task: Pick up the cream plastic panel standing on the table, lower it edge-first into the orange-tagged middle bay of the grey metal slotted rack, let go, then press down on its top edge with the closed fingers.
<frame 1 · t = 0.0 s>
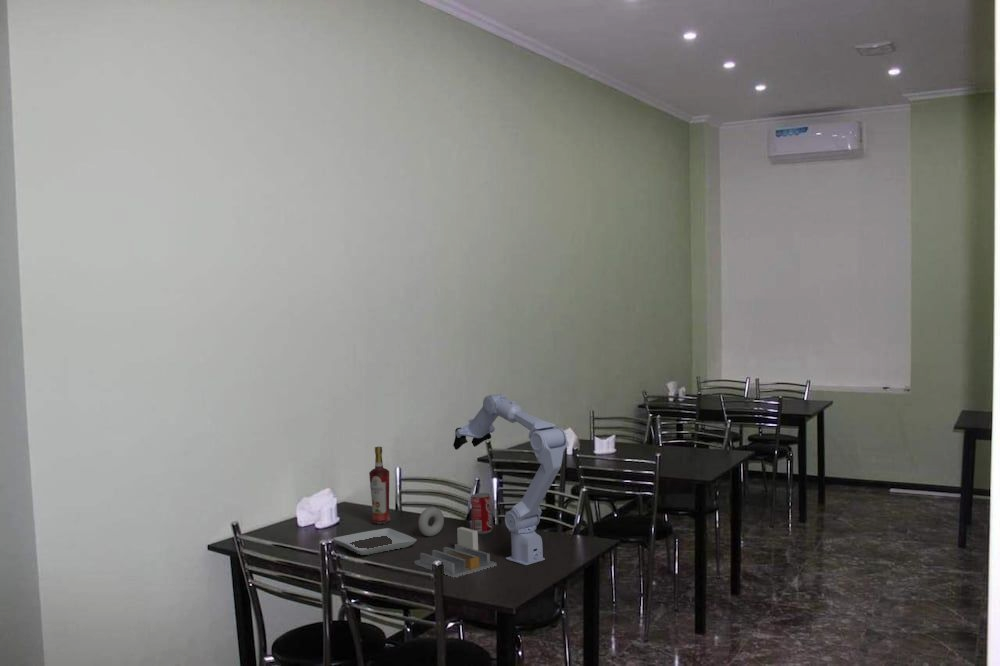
hand: (464, 445, 281), 32 cm above the table, tool tilted 50°, fingers open, 7 cm apart
salad plate: (374, 548, 281), on the table
donut: (431, 536, 292), on the table
soda can: (482, 532, 295), on the table
panel: (468, 551, 272), on the table
liquor: (381, 523, 313), on the table
rack: (455, 565, 257), on the table
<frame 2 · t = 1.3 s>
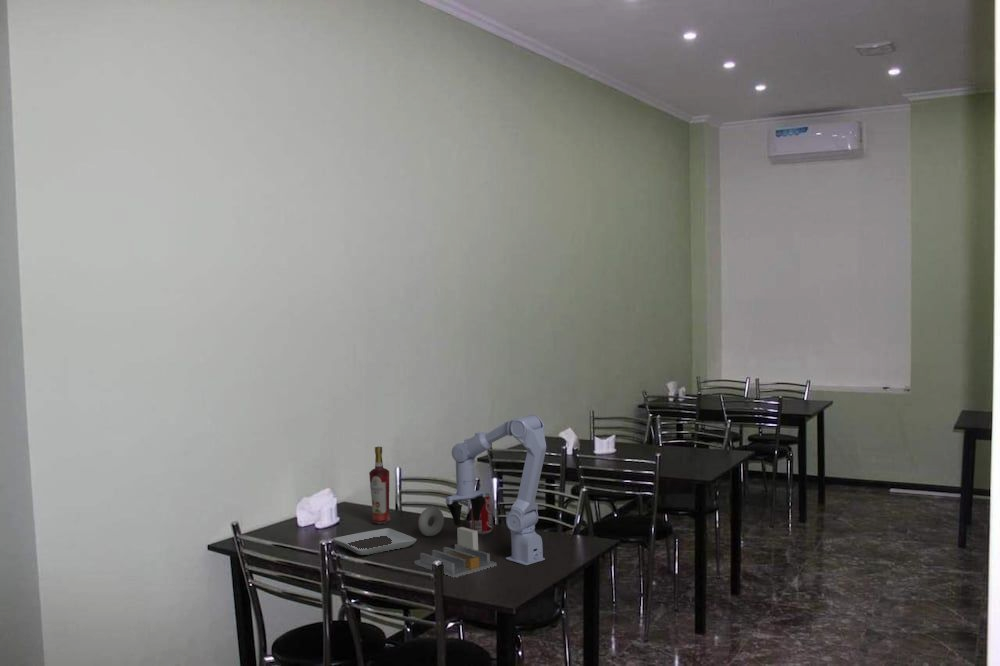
hand: (466, 522, 272), 9 cm above the table, tool pointing down, fingers open, 7 cm apart
nothing on the table moved.
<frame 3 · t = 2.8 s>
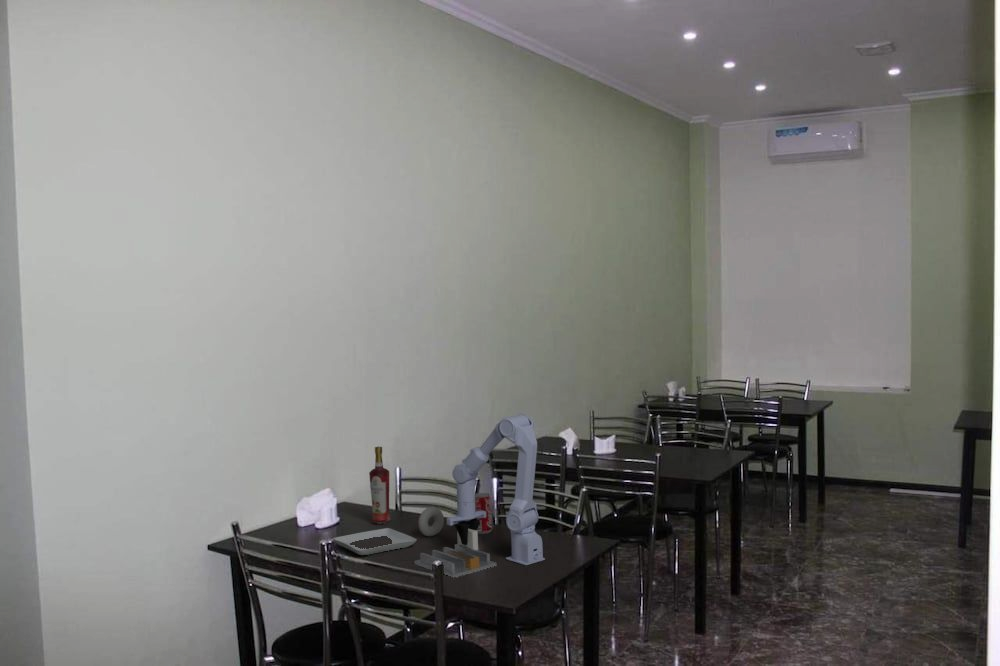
hand: (467, 543, 272), 2 cm above the table, tool pointing down, fingers closed on panel, 2 cm apart
panel: (467, 551, 272), on the table, touching gripper
everything else where it was.
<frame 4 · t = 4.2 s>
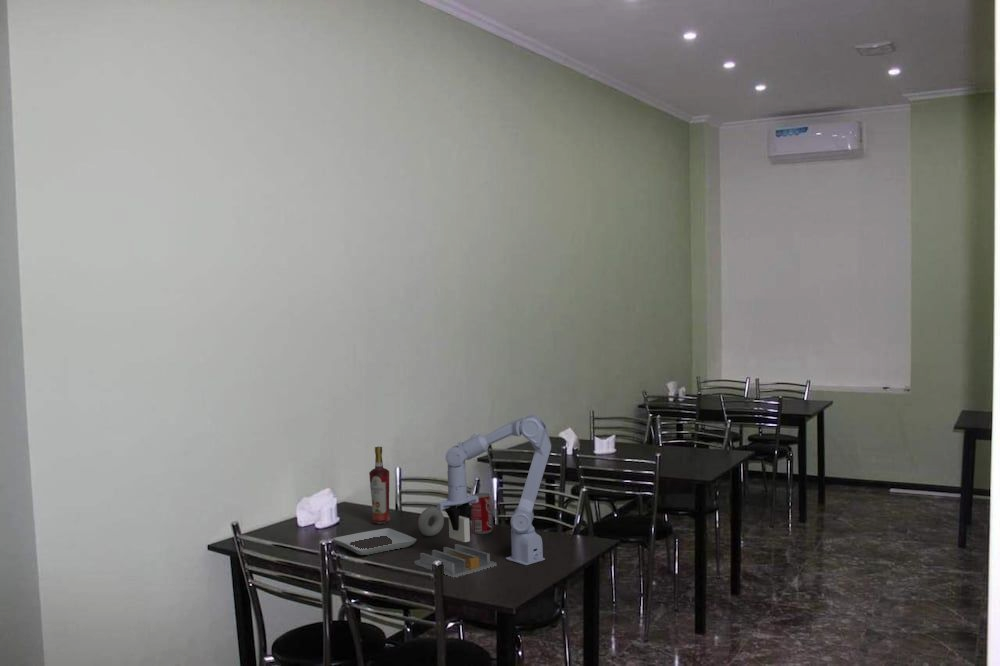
hand: (458, 529, 263), 9 cm above the table, tool pointing down, fingers closed on panel
panel: (459, 539, 263), point 6 cm above the table, touching gripper
everything else where it was.
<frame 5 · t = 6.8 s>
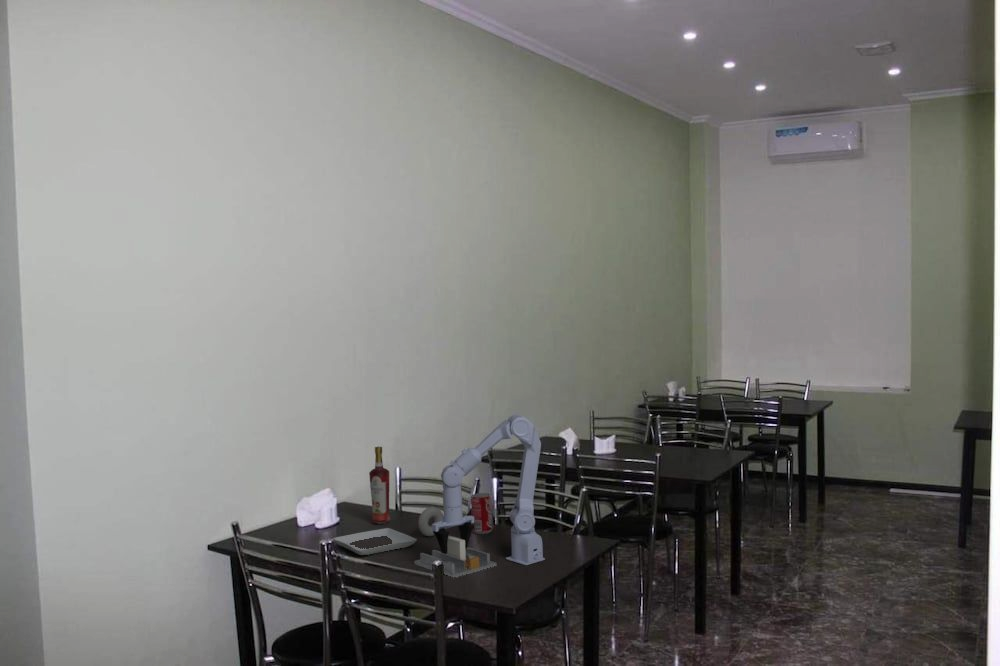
hand: (454, 550, 257), 4 cm above the table, tool pointing down, fingers open, 7 cm apart
panel: (455, 561, 257), point 1 cm above the table, touching rack
everything else where it was.
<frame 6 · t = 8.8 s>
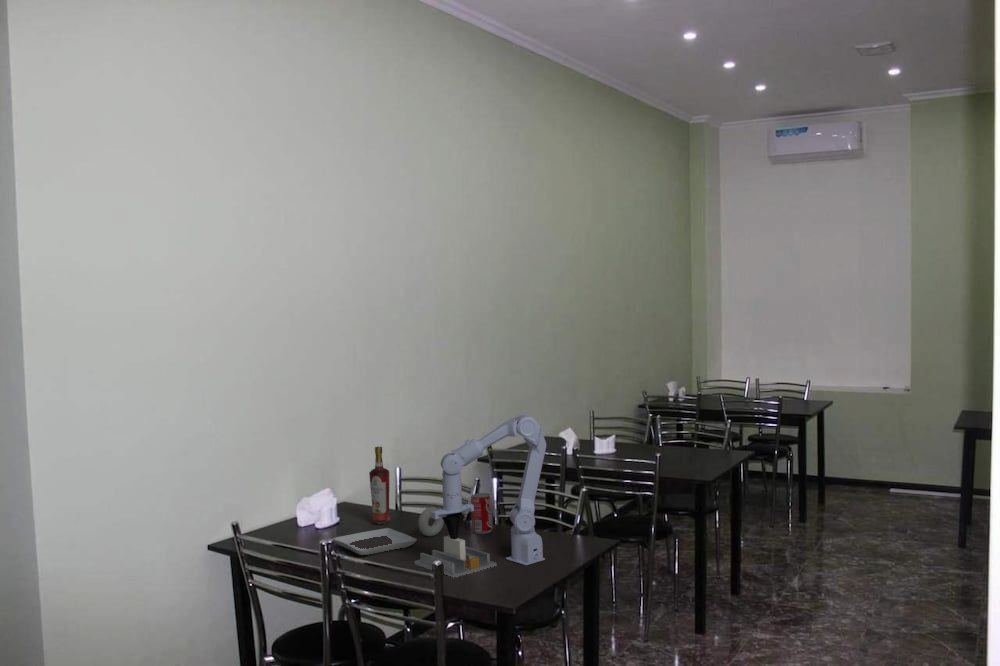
hand: (453, 538, 257), 8 cm above the table, tool pointing down, fingers closed, pressing on panel
panel: (455, 561, 257), point 1 cm above the table, touching gripper, rack
everything else where it was.
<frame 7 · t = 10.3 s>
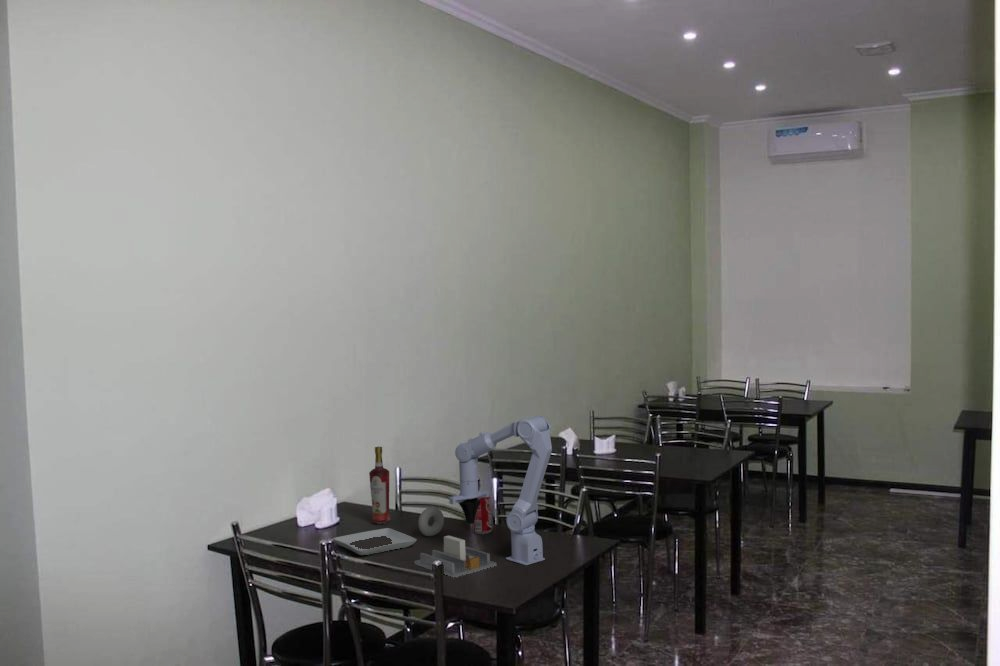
hand: (470, 523, 270), 9 cm above the table, tool pointing down, fingers closed
panel: (455, 561, 257), point 1 cm above the table, touching rack
everything else where it was.
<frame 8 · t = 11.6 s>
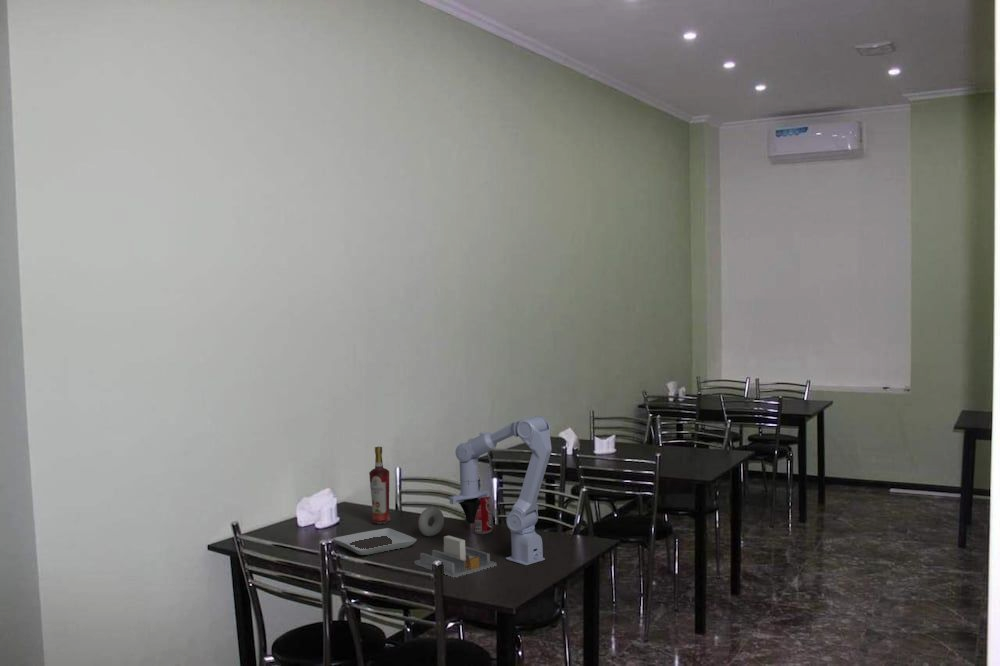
hand: (470, 522, 270), 9 cm above the table, tool pointing down, fingers closed
nothing on the table moved.
at the end: panel 0.2 cm off-centre on the rack, point 1.1 cm above the rack's base; panel tilted 0°; the gripper is holding nothing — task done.
